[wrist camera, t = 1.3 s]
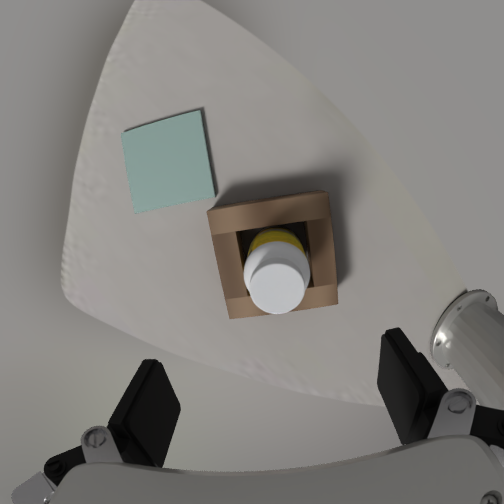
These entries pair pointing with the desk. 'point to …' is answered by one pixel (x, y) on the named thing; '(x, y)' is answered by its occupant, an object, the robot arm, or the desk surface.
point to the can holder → (269, 214)
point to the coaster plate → (168, 162)
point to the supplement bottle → (276, 270)
